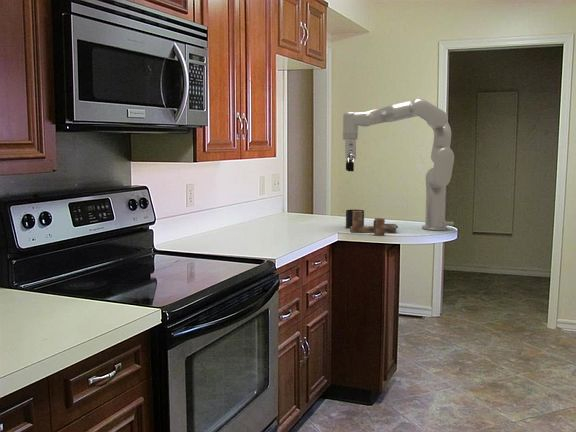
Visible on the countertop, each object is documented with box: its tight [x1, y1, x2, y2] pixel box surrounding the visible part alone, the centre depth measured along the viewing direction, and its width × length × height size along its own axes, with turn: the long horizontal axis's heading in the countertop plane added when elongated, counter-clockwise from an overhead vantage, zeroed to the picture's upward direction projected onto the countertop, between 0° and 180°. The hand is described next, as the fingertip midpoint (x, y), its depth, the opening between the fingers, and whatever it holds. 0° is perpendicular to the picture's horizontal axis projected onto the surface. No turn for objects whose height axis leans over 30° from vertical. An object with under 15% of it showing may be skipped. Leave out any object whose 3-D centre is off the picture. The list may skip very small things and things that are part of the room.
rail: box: [349, 211, 399, 234], centre depth 310 cm, size 23×7×10 cm, turn 89°
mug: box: [345, 208, 365, 229], centre depth 325 cm, size 9×12×9 cm
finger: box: [373, 217, 386, 237], centre depth 301 cm, size 5×4×8 cm
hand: (349, 170), depth 316 cm, fingers open, 9 cm apart
